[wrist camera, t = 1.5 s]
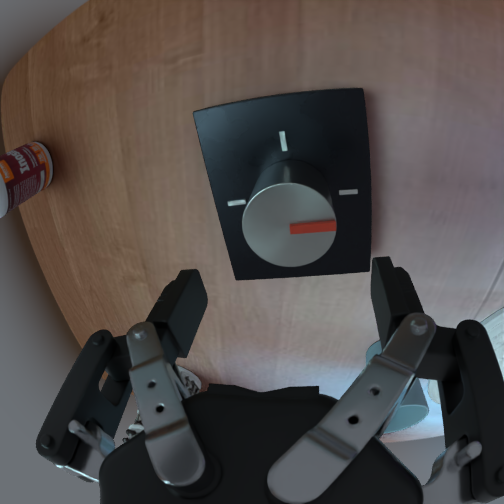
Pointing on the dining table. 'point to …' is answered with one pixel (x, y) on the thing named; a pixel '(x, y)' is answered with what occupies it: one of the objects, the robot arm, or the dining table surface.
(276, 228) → the hob knob
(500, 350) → the ceiling medallion
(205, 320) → the dining table surface
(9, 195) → the pill bottle
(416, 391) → the cup
